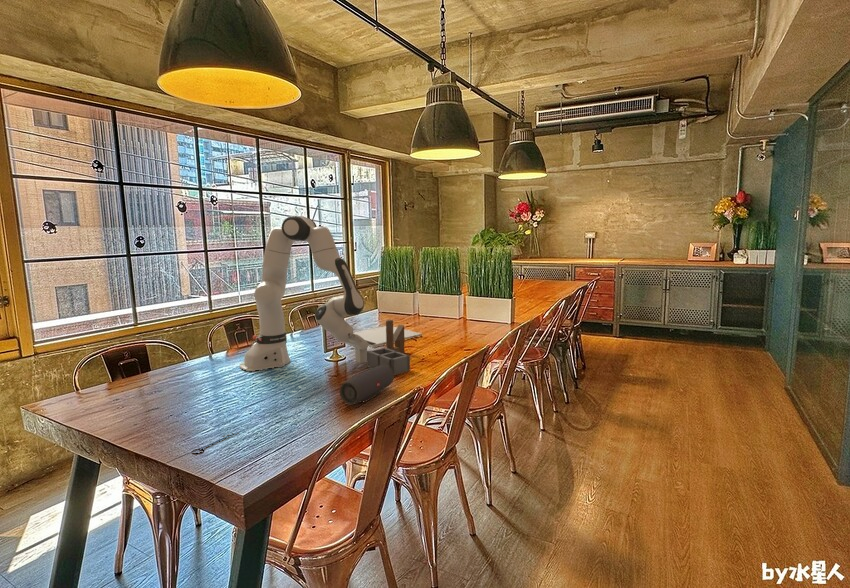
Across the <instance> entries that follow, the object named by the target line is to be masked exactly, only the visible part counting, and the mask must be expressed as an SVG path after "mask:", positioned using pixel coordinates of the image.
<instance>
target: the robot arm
mask: <svg viewBox="0 0 850 588" xmlns="http://www.w3.org/2000/svg"><path fill="white" fill-rule="evenodd" d="M266 240H267V241H266V245H265V249H264V254H263V261H262V265H261V266H262V274H261V275H262V276H261V282H260V283H259V284H258V285H257V286H256V288H255V291H254V300H255V304H256V305H255V306H256V310H257V313H258V314H257V315H258V320H259V323H258V324H259V334H258V335H256V334H254V335H252V339H253V340H255V341H256V343H255V344H254V345H253V346H251V347H250V348H248V350H247V351H246V352H245V354H244V358H243V359H244V360H243V362H240V363H239V365H238V366H239V369H240V370H242V369H243V370H242V371H244V370H246V371H245V372H249V371H252V372H256V371H255V370H259V371H262V370H261V369H265V370H268V369H267V368H272V369H275V368H274V367H278V368H282V366H284V367H285V366H286V365H288V364H289V363H290V362H291V358H290V356H289V355H290V354H289V351H288V347H287V339H288V337H287V332H286V325H285V315H284V310H283V305H282V299H283V298H284V296H285V293H286V287H287V277H288V275H287V274H288V267H289V262H290V257H291V251H292V247H293V244H294V243H295V242H305V241H306V242H307V243H308V245H309V247H310V250H311V255H312V258H313V261H314V263H315V265H316V267H318V268H319V269H320V270H322V271H325V272H329V273H332V274H334V275H336V277H337V278H338V280H339V282H340V286H341V288H342V290H343V293H344V294H340V295H337V296H336V295H335V296H333V297H331V298H329V299H328V300H327V301H326V303H324V304H321V305H320V306H318V308H316V311H315V313H314V318H315V320H316V322H317V323H318V324H319V325H320V326H321V328H323V330H325V331H327V332H328V333H330V334H329V336H331V338H334V339H335V340H336V341H338V343H343V344H345V345H349V346H351V347H353V348H355V347H356V348H359V349H361V350H362V351H364V352H366V351H368V348H369V347H368V346H369V343H368V342H367V341H365V340H364V339H363V338H362V337H360V336H359V335H357V334H353V332H354V327H353V326H352V325H351V324H350V323H348V322H347V321H346V320H345V318H346V317H349V316H358V315H360V314H361V313H362V311H363V310H364V306H365V302H364V298H363V296H362V294H361V293H360V292H359V290H358V287H357V286H356V285H357V284H356V282H355V280H354V277H353V275H352V273H351V270H350V268H349V266H348V264H347V262H346V261H345V259H343V258H342V257H341V256H340V254H339V252H338V249H337V245H336V243H335V239H334V237H333V234H332V233H331V231H330V229H329V228H328V227H326V226H323V225H322V226H321V225H320V226H317V224H316V222H315V221H314V220H312V219H311V218H309V217H306V216H302V215H299V216H298V215H291V216H288V217H286V218H285V219H284V220H283V221H282V223H281V226H275V227H273V228H271V230H270V232H269V234H268V238H267V239H266ZM285 364H286V365H285Z"/></svg>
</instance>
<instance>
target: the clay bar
mask: <svg viewBox="0 0 850 588" xmlns="http://www.w3.org/2000/svg"><path fill="white" fill-rule="evenodd" d="M354 348H355V349H354V350H355V353H354V354H355V362H356V363H358V364H363V363H364V364H365V363H367V351H368V350H367V351H366V352H364V351H362V350H361V349H359V348H356V347H354Z"/></svg>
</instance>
